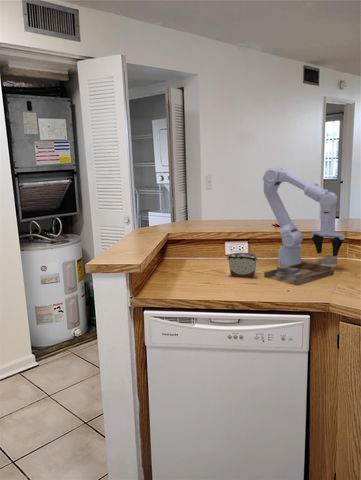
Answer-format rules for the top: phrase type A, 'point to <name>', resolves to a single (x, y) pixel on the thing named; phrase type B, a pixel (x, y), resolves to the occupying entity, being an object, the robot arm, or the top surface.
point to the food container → (242, 265)
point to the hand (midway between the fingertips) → (327, 254)
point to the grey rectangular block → (327, 260)
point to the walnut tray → (304, 273)
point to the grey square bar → (288, 273)
